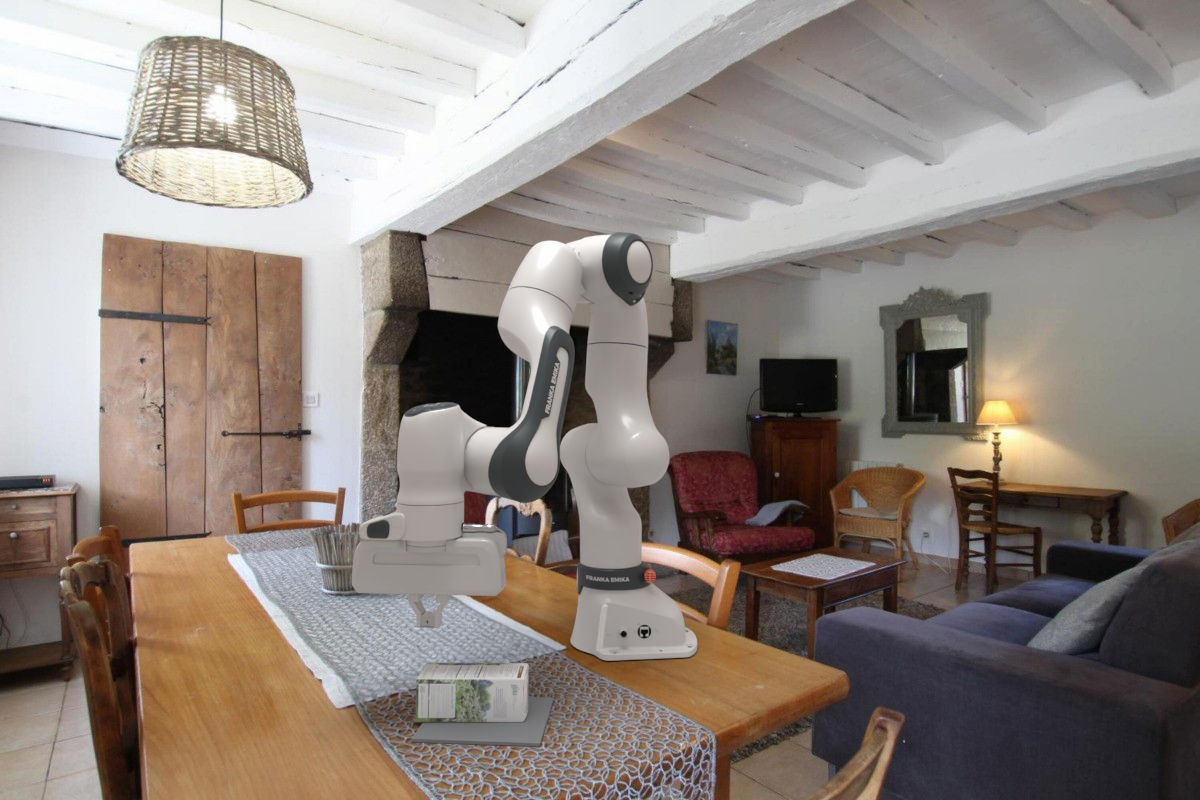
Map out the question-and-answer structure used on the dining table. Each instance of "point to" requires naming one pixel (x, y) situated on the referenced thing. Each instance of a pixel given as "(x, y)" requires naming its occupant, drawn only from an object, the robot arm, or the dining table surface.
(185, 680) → the dining table surface
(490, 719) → the syrup box
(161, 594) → the dining table surface
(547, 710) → the felt mat
